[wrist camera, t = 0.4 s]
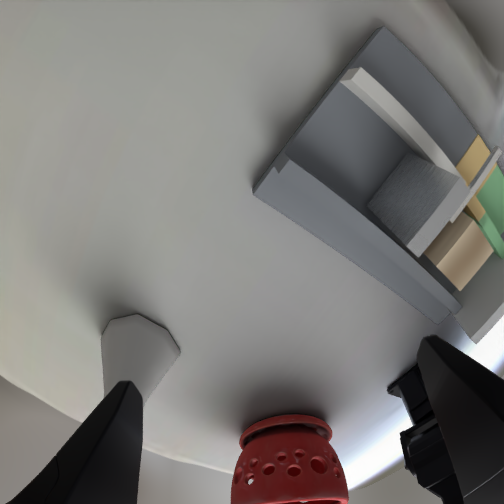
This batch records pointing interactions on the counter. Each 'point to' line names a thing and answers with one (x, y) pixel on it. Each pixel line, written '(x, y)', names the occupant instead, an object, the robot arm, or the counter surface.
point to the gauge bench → (379, 169)
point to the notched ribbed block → (424, 199)
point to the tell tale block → (459, 250)
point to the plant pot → (288, 463)
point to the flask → (136, 353)
